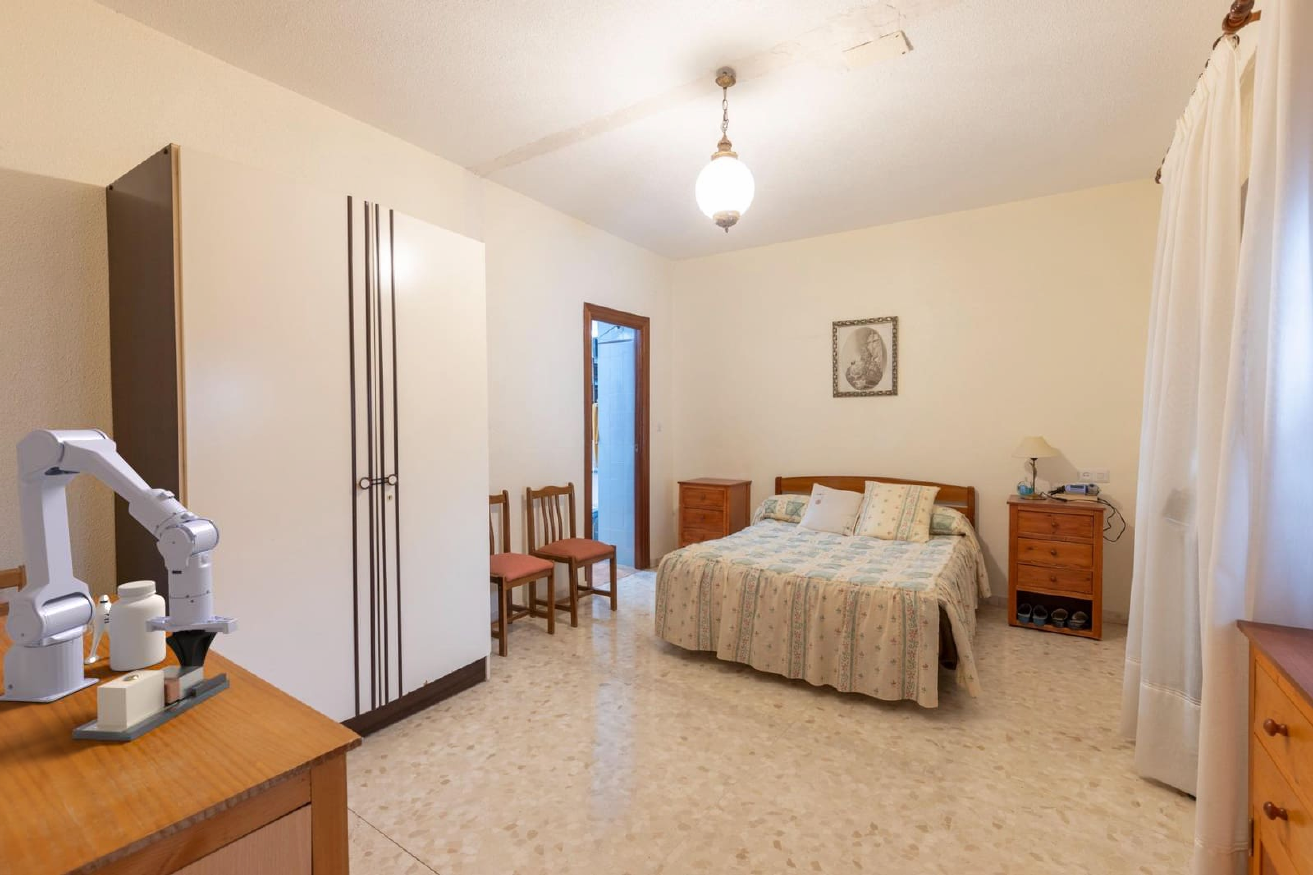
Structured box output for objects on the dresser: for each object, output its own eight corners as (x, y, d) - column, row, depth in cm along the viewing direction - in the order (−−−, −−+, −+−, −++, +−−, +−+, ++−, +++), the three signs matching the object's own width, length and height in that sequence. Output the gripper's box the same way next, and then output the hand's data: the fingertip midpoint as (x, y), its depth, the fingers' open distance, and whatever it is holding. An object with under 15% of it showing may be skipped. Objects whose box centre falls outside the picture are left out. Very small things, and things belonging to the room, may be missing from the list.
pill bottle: (119, 675, 106) (117, 592, 106) (103, 666, 110) (101, 585, 110) (173, 660, 113) (171, 582, 113) (156, 652, 117) (154, 576, 117)
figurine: (78, 666, 111) (77, 601, 110) (80, 659, 114) (78, 597, 113) (130, 656, 115) (128, 594, 115) (130, 650, 118) (128, 590, 118)
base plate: (72, 738, 85) (72, 721, 85) (180, 684, 102) (180, 671, 102) (131, 741, 84) (130, 724, 84) (229, 686, 102) (229, 672, 102)
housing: (97, 724, 86) (96, 685, 86) (137, 705, 92) (136, 668, 92) (126, 725, 86) (125, 686, 86) (164, 706, 92) (163, 669, 92)
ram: (134, 703, 93) (134, 681, 93) (169, 686, 99) (169, 665, 98) (170, 704, 92) (170, 682, 92) (203, 687, 98) (202, 666, 98)
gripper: (127, 599, 96) (130, 683, 96) (212, 601, 95) (214, 686, 95) (166, 587, 103) (169, 665, 103) (246, 588, 102) (248, 667, 102)
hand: (193, 674), depth 100 cm, fingers closed, pressing on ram
